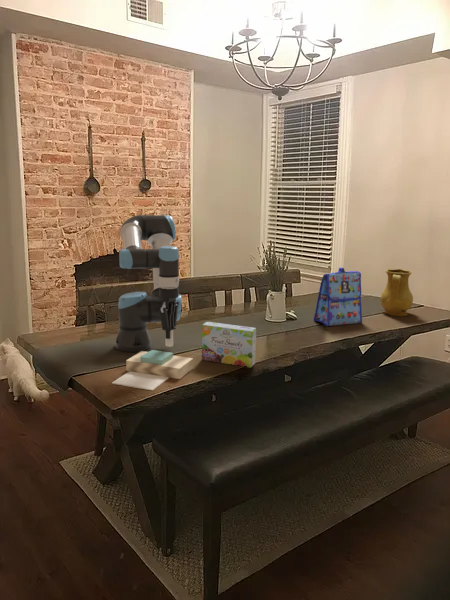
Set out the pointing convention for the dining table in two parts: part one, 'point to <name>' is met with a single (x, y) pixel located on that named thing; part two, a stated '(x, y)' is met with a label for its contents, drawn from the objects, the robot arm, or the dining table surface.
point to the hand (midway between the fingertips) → (169, 345)
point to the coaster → (156, 357)
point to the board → (161, 366)
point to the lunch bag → (339, 299)
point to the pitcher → (397, 293)
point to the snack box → (228, 344)
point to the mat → (140, 380)
